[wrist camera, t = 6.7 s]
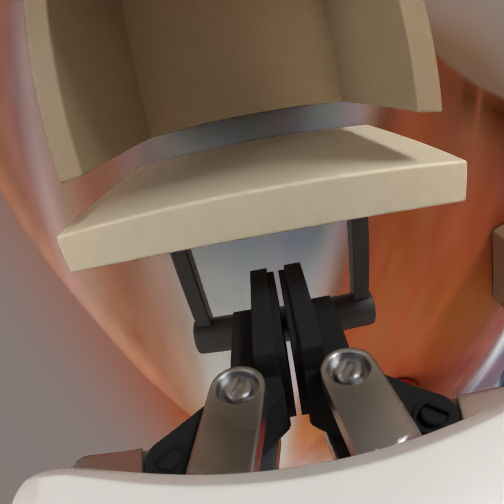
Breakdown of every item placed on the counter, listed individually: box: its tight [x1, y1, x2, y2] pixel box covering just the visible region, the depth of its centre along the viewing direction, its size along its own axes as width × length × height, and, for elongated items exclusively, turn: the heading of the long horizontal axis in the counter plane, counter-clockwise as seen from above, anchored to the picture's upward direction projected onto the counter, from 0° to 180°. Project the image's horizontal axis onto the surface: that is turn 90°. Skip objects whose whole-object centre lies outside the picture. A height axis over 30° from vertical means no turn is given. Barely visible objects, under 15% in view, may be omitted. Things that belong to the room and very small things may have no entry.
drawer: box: [24, 0, 467, 354], centre depth 9 cm, size 19×11×8 cm, turn 11°
